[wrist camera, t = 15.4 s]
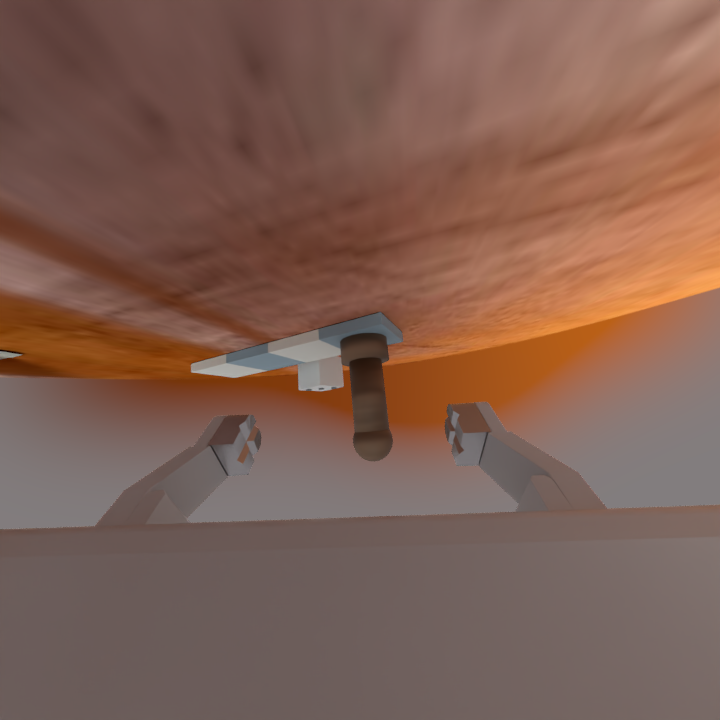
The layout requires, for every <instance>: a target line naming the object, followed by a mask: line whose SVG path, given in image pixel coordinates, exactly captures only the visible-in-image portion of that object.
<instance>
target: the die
mask: <svg viewBox="0 0 720 720" xmlns="http://www.w3.org/2000/svg"><path fill="white" fill-rule="evenodd" d="M342 371H343V370H342V363H341V357H338V356H334V357H330V358H325V359H320V360H316V361H311V362H306V363H302V364H298V381H299V382H298V384H299V390H306V391H326V390H331V389H336V388H340V387H344V384H343V372H342Z"/></svg>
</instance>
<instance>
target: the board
mask: <svg viewBox="0 0 720 720" xmlns="http://www.w3.org/2000/svg"><path fill="white" fill-rule="evenodd" d="M361 333H378V334H382V335H384V336H386V338H387V345H390V344H395V343H399V342H403V335H402V332H401V331H400V330H399V329H398V328H397V327H396V326H395V325H394V324H393V323H392V322H391V321H390V320H388V319H387V318H386V317H385V316H384V315H383V314H382V313H381V312H379V313H376V314H372V315H368V316H365V317H361V318H357V319H354V320H350V321H346V322H343V323H339V324H335V325H332V326H328V327H324V328H321V329H317V330H313V331H310V332H306V333H302V334H299V335H295V336H291V337H288V338H284V339H280V340H277V341H273V342H269V343H266V344H262V345H258V346H255V347H251V348H247V349H244V350H240V351H236V352H233V353H229V354H225V355H222V356H218V357H215V358H211V359H207V360H204V361H200V362H196V363H193V364H191V372H194V373H202V374H210V375H217V376H225V377H233V378H236V377H241V376H246V375H250V374H255V373H260V372H264V371H269V370H274V369H278V368H283V367H288V366H292V365H297V364H302V363H306V362H311V361H316V360H320V359H325V358H330V357H334V356H339V355H341V349H340V341H341V340H342V339H343V338H345V337H347V336H351V335H355V334H361Z"/></svg>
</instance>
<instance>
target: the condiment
mask: <svg viewBox="0 0 720 720" xmlns="http://www.w3.org/2000/svg"><path fill="white" fill-rule="evenodd" d="M20 355H22V354H14V353H9V352H2V351H0V360H1V359H5V358H10V357H16V356H20Z"/></svg>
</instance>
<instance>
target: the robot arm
mask: <svg viewBox="0 0 720 720" xmlns="http://www.w3.org/2000/svg"><path fill="white" fill-rule="evenodd" d="M447 414H448V416H449V417H448V418H447V419H446V420H445V433H446V437H447V440H448V442H449V443H450V444H451V445H452V454H453V456H454V459H455V462H456V465H457V466H473V465H474V466H475V465H479V466H480V468H481V469H482V470H483V471H484V472H485V473H487V474H488V475H489V476H490V477H491V478H492V479H493V480H494V481H495V482H496V483H497V484H498V485H499V486H500V487H501V488H502V489H504V490H505V491H506V492H507V493H508V494H509V495H510V496H511V497H512V498H513V499H514V500H515V501H516V502H517V503H519V505H518V507H517V509H516V511H515V512H495V513H468V514H467V513H466V514H437V515H409V516H379V517H352V518H351V517H350V518H324V519H294V520H293V519H291V520H263V521H262V520H261V521H232V522H202V523H190V521H189V520H188V519H187V518H188V517H189V516H190V514H192V513H193V512H194V511H195V510H196V509H197V507H198V506H200V504H201V503H202V502H204V500H205V499H206V498H207V497H208V496H209V495H210V494H211V493H212V492H213V491H214V490H215V489H216V488H217V487H218V486H219V485H220V484H221V483H222V482H223V481H224V480H225V479H226V478H227V476H235V475H248V474H249V472H250V469H251V467H252V464H253V462H254V458H253V455H254V454H255V453H256V452H258V450H259V447H260V444H261V433H260V430H259V429H258V428H257V427H256V426H254V424H255V422H256V420H255V418H254V416H253V415H228V416H216V417H214V418H213V419H212V420H211V422H210V423H209V425H208V426H207V428H206V429H205V430H204V432H203V433H202V435H201V436H200V438H199V439H198V440H197V442H196V443H195V445H194V446H193V447H188V448H187V449H186V450H184V451H183V452H181V453H179V454H178V455H176V456H175V457H174V458H172V459H171V460H169V461H168V462H166V463H165V464H163V465H162V466H160V467H159V468H157V469H156V470H154V471H153V472H151V473H150V474H148V475H147V476H145V477H144V478H142V479H141V480H139V481H138V482H136V483H135V484H133V485H132V486H130V487H129V488H127V489H126V490H124V491H123V493H122V494H121V495H120V496H119V497H118V499H117V500H116V501H115V502H114V503H113V505H112V506H111V507H110V509H109V510H108V511H107V512H106V513H105V514H104V515H103V517H102V518H101V519H100V520H99V522H98V523H97V524H96V525H95V526H88V527H87V526H85V527H57V528H26V529H0V720H720V505H698V506H670V507H642V508H641V507H640V508H611V509H607V508H606V506H605V505H604V504H603V503H602V501H601V500H600V499H599V498H598V497H597V495H596V494H595V493H594V491H593V490H592V489H591V488H590V486H589V485H588V484H587V483H586V481H585V480H584V479H583V478H582V477H581V475H580V474H579V473H578V472H576V471H575V470H573V469H572V468H570V467H568V466H567V465H565V464H563V463H562V462H560V461H558V460H557V459H555V458H553V457H552V456H550V455H549V454H547V453H545V452H544V451H542V450H540V449H539V448H537V447H535V446H534V445H532V444H530V443H529V442H527V441H525V440H524V439H522V438H520V437H519V436H517V435H516V434H514V433H512V432H507V431H506V429H505V428H504V426H503V425H502V423H501V422H500V420H499V419H498V417H497V415H496V414H495V412H494V411H493V409H492V408H491V406H490V405H489V403H487V402H474V403H462V404H449V405H448V407H447Z"/></svg>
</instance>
